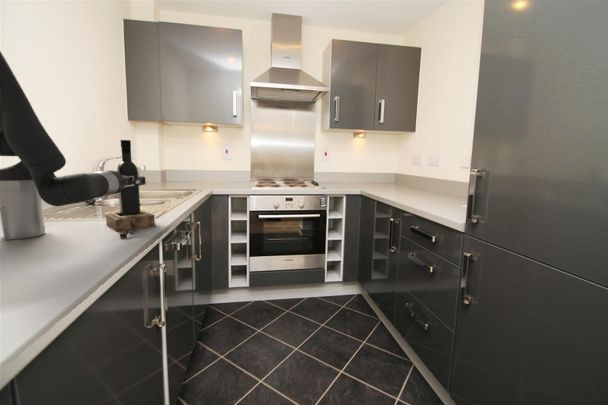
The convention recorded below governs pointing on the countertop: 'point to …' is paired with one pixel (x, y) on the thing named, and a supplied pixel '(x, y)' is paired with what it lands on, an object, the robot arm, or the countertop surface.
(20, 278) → the countertop surface
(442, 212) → the countertop surface
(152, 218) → the square wooden picture frame
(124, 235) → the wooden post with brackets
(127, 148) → the wine bottle
